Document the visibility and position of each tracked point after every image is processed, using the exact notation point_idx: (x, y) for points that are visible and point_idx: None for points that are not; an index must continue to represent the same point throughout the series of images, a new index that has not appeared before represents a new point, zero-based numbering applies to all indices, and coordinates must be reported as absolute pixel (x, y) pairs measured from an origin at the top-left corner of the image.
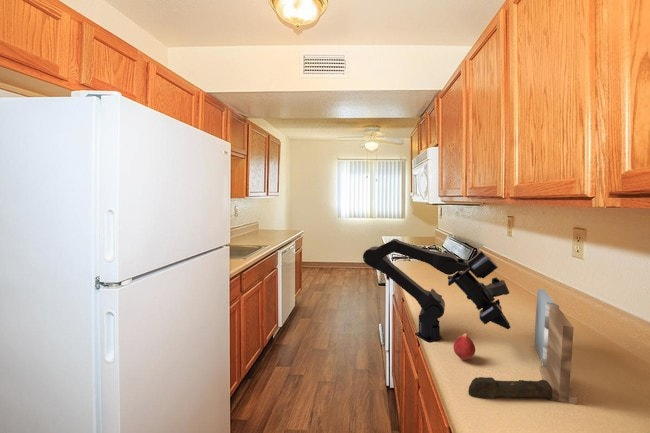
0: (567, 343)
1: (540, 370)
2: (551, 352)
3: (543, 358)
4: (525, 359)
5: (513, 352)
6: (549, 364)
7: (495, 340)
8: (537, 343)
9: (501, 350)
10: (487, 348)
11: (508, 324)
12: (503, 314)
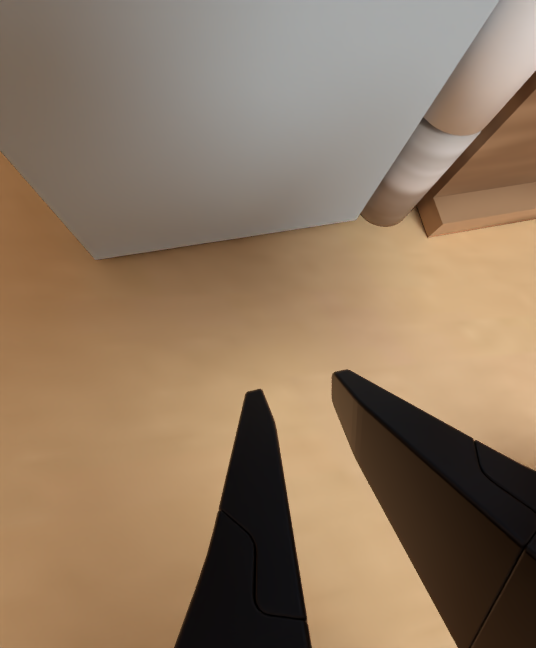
0: None
1: (456, 226)
2: None
3: (427, 188)
4: (339, 300)
5: (287, 366)
6: (525, 156)
7: (155, 504)
8: (189, 220)
9: (304, 437)
10: (331, 529)
11: (379, 389)
12: (250, 496)
